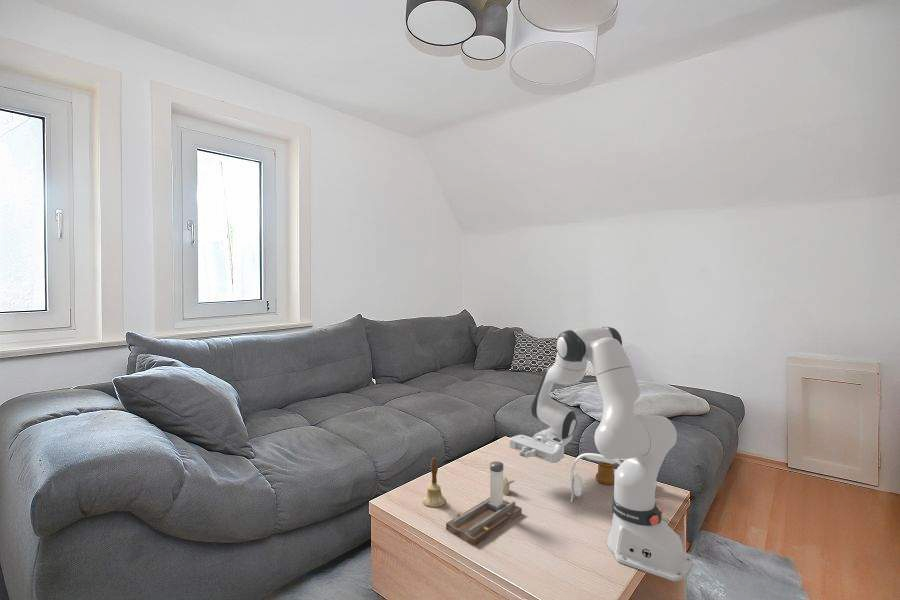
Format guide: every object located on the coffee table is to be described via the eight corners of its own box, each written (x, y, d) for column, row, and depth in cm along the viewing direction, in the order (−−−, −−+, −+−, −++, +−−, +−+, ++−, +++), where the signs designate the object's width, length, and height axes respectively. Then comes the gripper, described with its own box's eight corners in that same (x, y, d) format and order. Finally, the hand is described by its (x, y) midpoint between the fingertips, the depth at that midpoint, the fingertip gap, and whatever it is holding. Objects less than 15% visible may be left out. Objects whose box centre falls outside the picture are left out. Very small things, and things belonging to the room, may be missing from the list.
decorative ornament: (498, 485, 166) (498, 471, 166) (515, 493, 160) (516, 479, 160) (491, 489, 164) (491, 475, 163) (508, 497, 158) (509, 483, 157)
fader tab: (506, 507, 146) (506, 464, 145) (498, 512, 143) (498, 468, 142) (495, 501, 150) (495, 460, 149) (486, 506, 147) (486, 464, 146)
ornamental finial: (599, 474, 175) (618, 479, 171) (592, 481, 169) (612, 487, 165) (599, 455, 174) (618, 460, 170) (593, 461, 168) (613, 467, 164)
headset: (630, 506, 152) (632, 456, 150) (629, 516, 145) (630, 464, 144) (572, 493, 160) (572, 446, 159) (568, 502, 154) (569, 453, 153)
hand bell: (450, 500, 156) (450, 456, 155) (435, 510, 149) (434, 464, 148) (433, 492, 161) (432, 450, 160) (417, 502, 154) (417, 458, 153)
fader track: (521, 513, 147) (521, 503, 147) (474, 545, 130) (474, 534, 130) (493, 500, 155) (493, 491, 155) (446, 529, 138) (446, 518, 138)
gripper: (521, 428, 174) (500, 438, 164) (567, 443, 159) (547, 454, 150) (521, 443, 174) (499, 454, 164) (567, 459, 160) (546, 472, 150)
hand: (522, 454), depth 157 cm, fingers closed
